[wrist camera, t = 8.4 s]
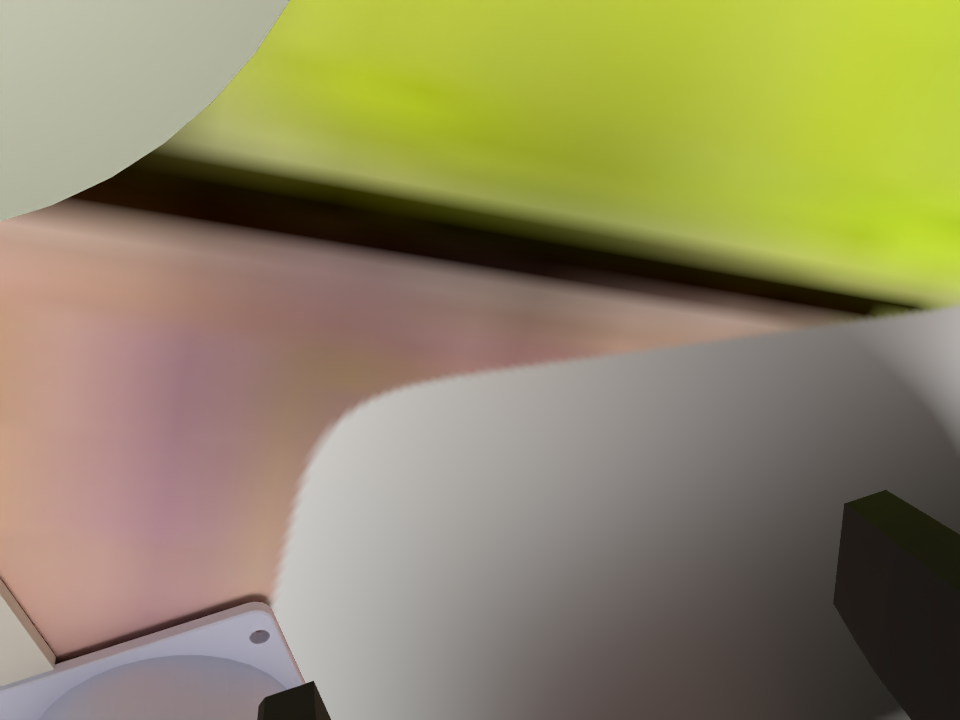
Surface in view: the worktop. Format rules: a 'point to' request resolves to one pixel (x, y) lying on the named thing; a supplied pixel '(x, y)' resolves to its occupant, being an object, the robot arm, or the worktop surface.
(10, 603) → the mat
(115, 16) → the lid
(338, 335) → the worktop surface
